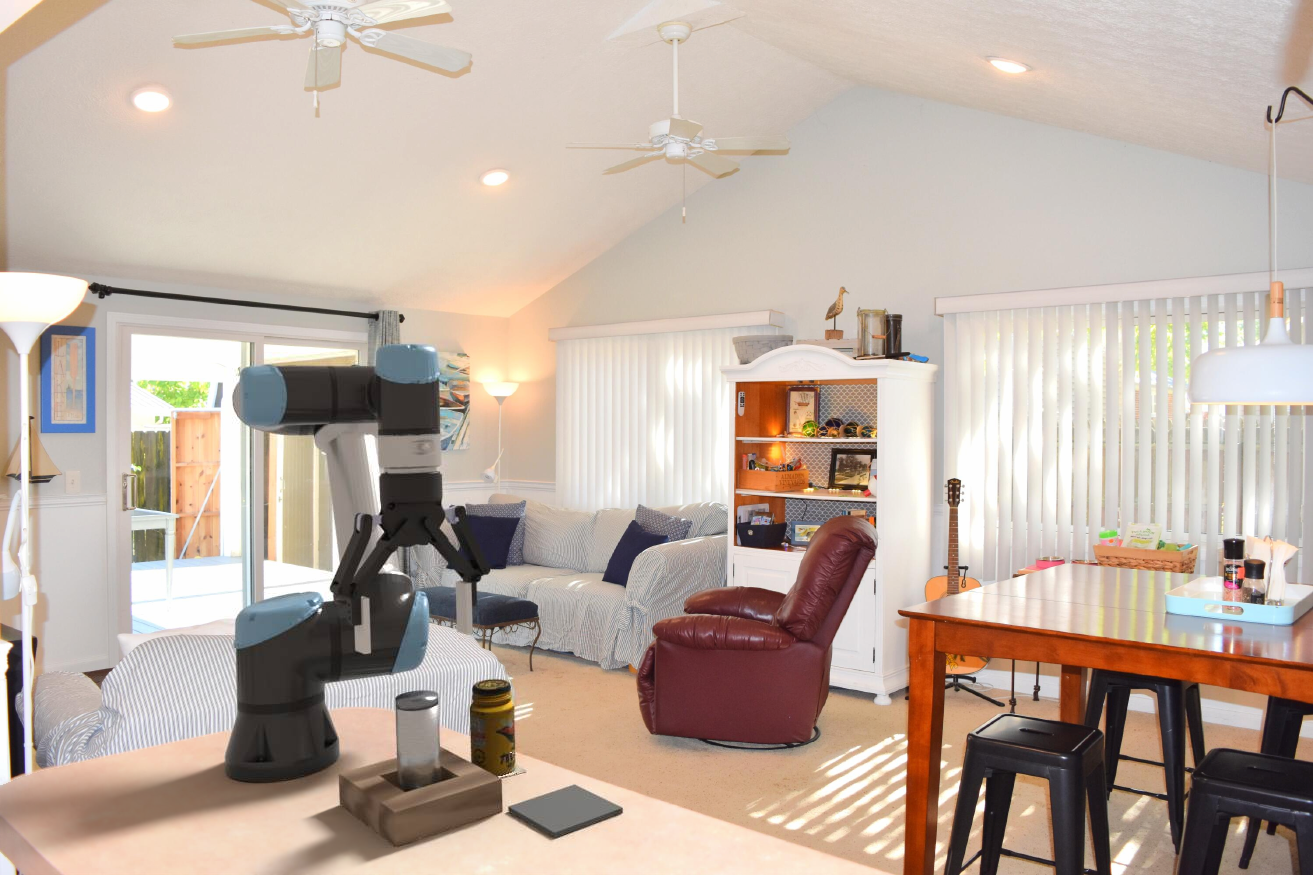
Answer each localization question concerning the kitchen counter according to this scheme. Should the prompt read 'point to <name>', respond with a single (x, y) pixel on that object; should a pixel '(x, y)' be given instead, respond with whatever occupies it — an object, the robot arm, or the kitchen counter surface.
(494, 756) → the condiment
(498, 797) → the housing
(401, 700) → the plug
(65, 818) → the kitchen counter surface
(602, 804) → the mat
